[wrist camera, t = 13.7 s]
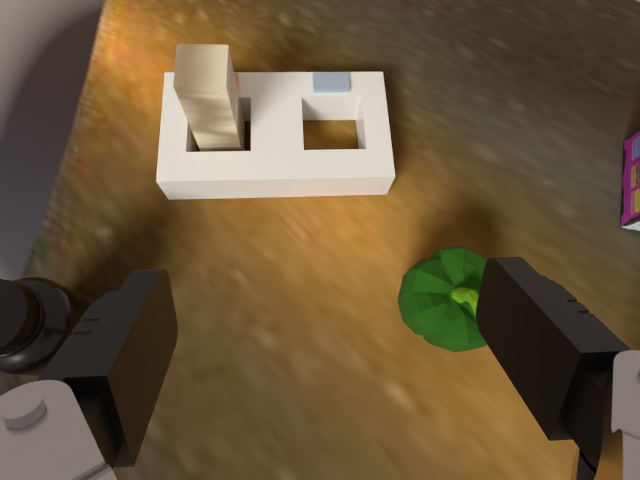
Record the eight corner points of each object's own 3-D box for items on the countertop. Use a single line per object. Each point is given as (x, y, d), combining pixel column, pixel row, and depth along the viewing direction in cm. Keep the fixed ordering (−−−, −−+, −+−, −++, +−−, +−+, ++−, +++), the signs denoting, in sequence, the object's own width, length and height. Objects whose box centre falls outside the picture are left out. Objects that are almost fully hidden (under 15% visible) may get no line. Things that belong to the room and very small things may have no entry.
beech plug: (245, 129, 45) (228, 44, 34) (244, 163, 44) (226, 86, 32) (207, 129, 45) (177, 44, 33) (205, 163, 43) (173, 86, 32)
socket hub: (375, 92, 47) (383, 64, 43) (386, 194, 43) (396, 174, 39) (175, 94, 46) (163, 64, 42) (168, 199, 42) (154, 179, 38)
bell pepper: (388, 263, 41) (415, 228, 32) (471, 270, 41) (523, 237, 32) (386, 352, 38) (416, 343, 29) (475, 358, 39) (534, 351, 29)
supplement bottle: (96, 387, 36) (4, 390, 25) (23, 361, 36) (-100, 353, 25) (132, 311, 38) (63, 282, 27) (63, 287, 39) (-34, 249, 27)
